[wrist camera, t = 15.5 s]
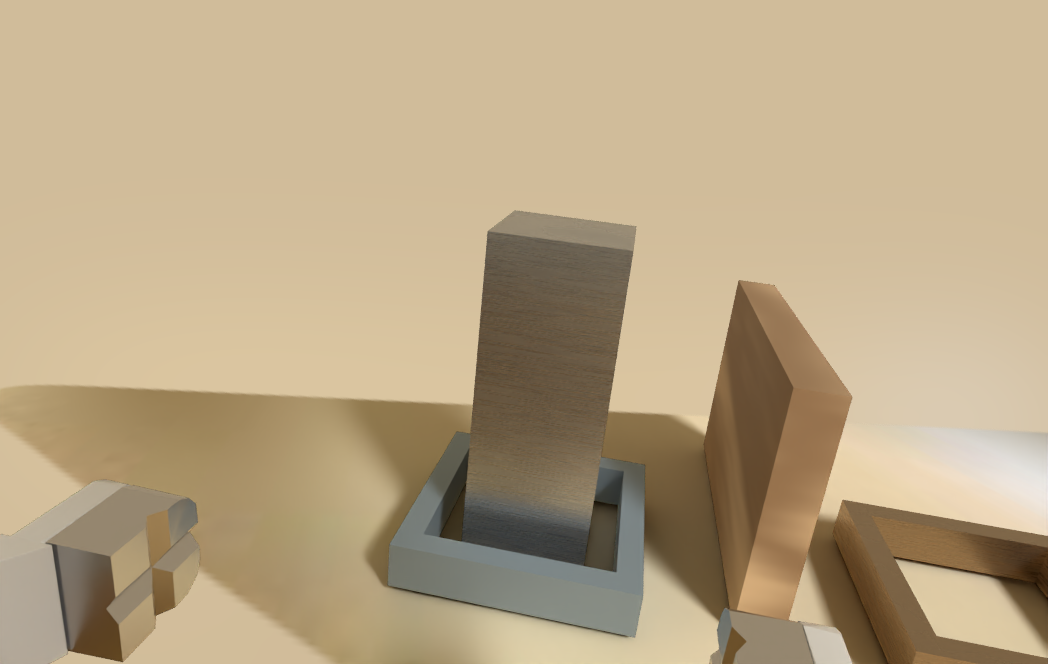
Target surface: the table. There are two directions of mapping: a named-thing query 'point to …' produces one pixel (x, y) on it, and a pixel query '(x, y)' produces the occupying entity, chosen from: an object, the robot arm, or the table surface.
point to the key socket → (889, 532)
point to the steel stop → (544, 381)
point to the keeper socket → (524, 555)
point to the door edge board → (770, 448)
